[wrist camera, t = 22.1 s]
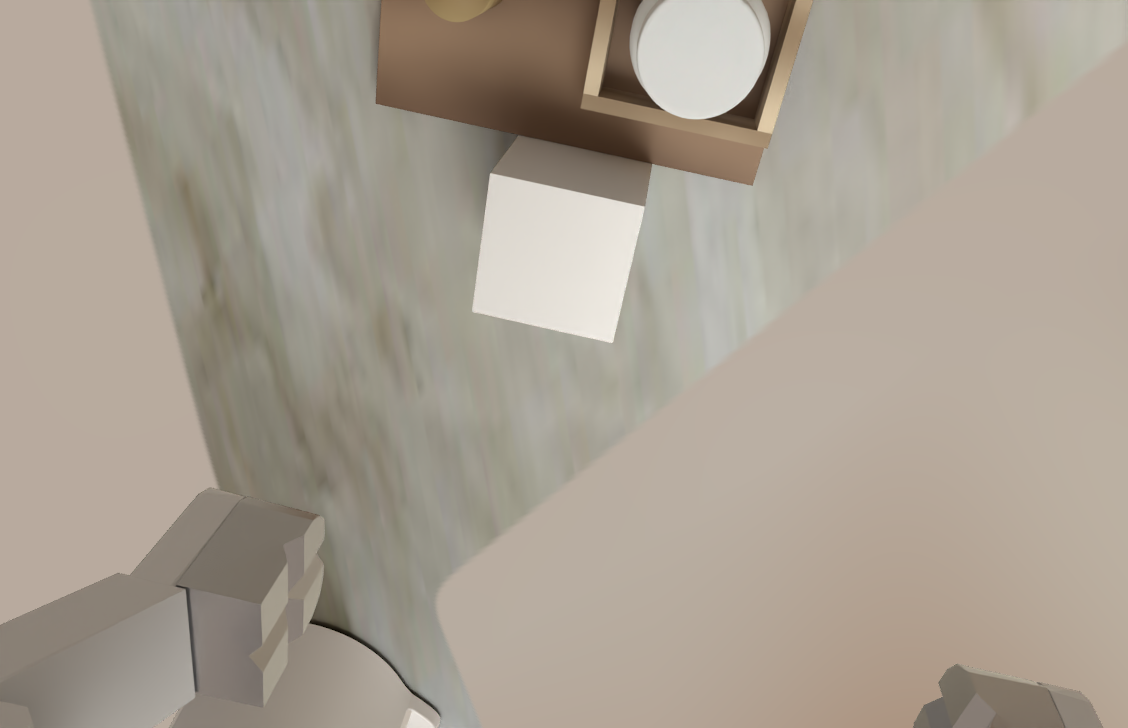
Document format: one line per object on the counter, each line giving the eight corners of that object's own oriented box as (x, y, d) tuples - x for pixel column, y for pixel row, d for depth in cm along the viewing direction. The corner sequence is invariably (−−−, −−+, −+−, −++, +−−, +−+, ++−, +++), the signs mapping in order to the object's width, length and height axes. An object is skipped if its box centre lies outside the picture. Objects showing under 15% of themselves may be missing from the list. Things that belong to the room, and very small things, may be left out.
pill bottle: (615, 3, 33) (594, 32, 25) (720, -73, 31) (728, -65, 24) (677, 105, 34) (673, 159, 27) (780, 38, 32) (805, 77, 25)
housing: (625, 275, 40) (612, 343, 34) (505, 249, 40) (471, 311, 34) (653, 156, 37) (644, 206, 31) (523, 128, 37) (490, 173, 31)
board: (750, 177, 36) (758, 216, 32) (384, 97, 37) (341, 124, 32) (844, -131, 30) (870, -137, 26) (403, -221, 31) (354, -242, 26)
